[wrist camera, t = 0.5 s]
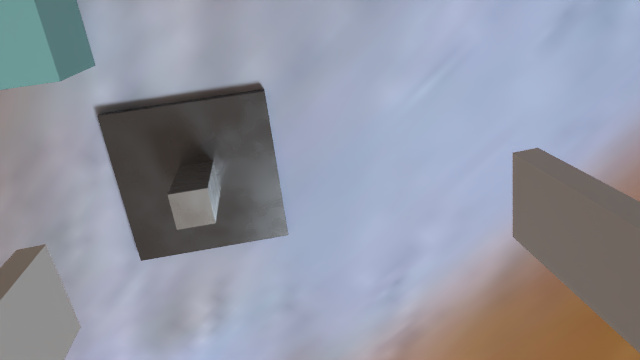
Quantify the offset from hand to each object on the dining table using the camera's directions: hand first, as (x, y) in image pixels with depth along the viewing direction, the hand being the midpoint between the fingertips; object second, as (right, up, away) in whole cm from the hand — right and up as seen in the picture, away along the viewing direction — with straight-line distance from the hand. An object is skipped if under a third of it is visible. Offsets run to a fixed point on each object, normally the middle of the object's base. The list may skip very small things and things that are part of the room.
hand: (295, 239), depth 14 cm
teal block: (-18, +12, +19) cm, 29 cm away
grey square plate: (-9, +2, +24) cm, 26 cm away
